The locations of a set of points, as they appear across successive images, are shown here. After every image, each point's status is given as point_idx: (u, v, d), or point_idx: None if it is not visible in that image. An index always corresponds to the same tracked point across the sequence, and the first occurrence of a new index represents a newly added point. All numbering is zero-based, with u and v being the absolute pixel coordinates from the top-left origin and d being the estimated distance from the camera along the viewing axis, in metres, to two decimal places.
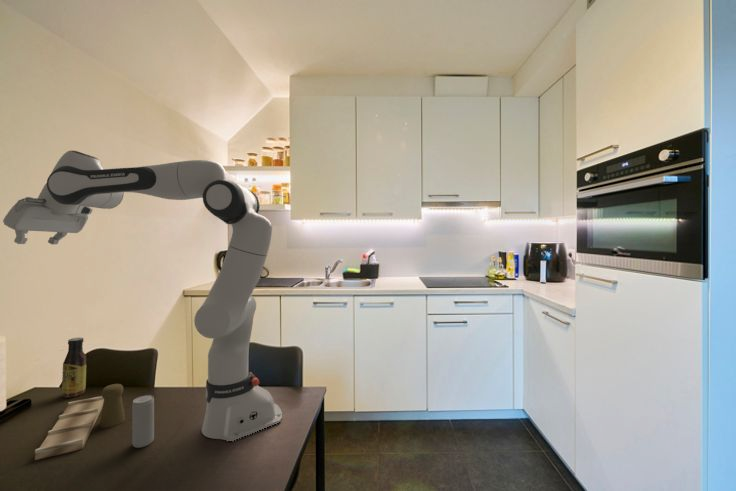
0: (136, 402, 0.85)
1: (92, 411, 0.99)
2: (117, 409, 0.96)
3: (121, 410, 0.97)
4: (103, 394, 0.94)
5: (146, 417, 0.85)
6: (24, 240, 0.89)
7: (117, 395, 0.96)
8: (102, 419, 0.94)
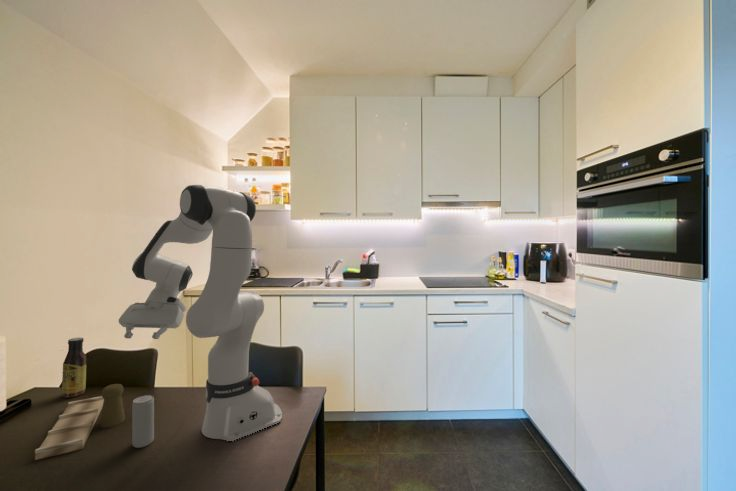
0: (136, 402, 0.85)
1: (92, 411, 0.99)
2: (117, 409, 0.96)
3: (121, 410, 0.97)
4: (103, 394, 0.94)
5: (146, 418, 0.85)
6: (127, 332, 1.09)
7: (117, 395, 0.96)
8: (102, 419, 0.94)
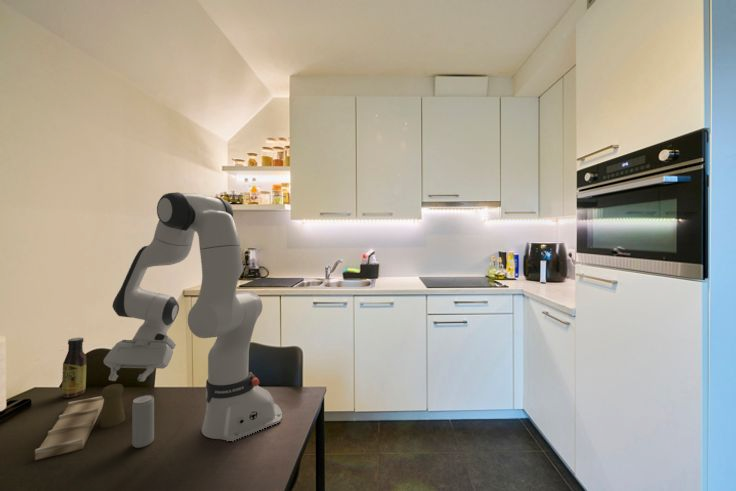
0: (136, 402, 0.85)
1: (92, 411, 0.99)
2: (117, 409, 0.96)
3: (121, 410, 0.97)
4: (103, 394, 0.94)
5: (146, 417, 0.85)
6: (112, 374, 1.02)
7: (117, 395, 0.96)
8: (102, 419, 0.94)
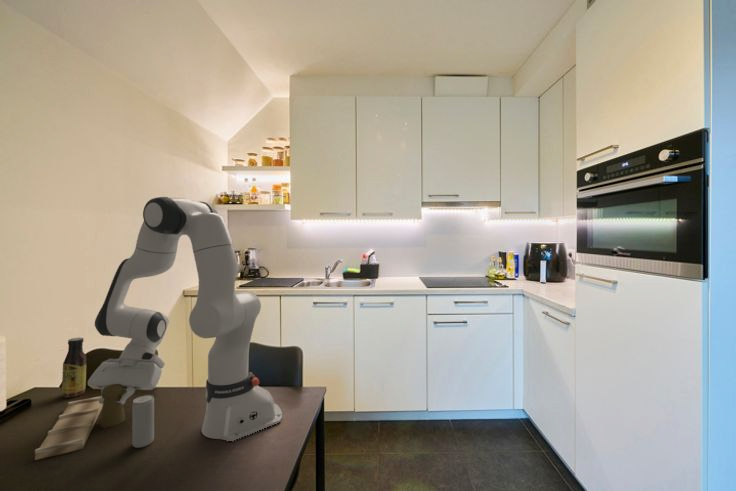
0: (136, 402, 0.85)
1: (92, 411, 0.99)
2: (117, 409, 0.96)
3: (121, 410, 0.97)
4: (103, 394, 0.94)
5: (146, 417, 0.85)
6: None
7: (117, 395, 0.96)
8: (102, 419, 0.94)
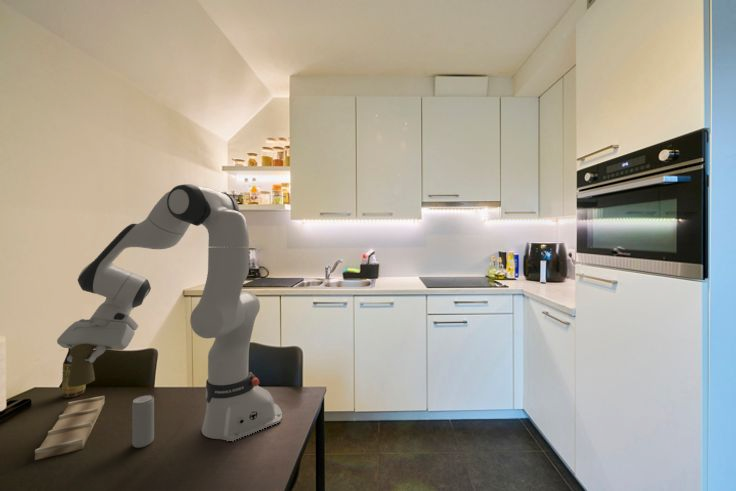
0: (136, 402, 0.85)
1: (92, 411, 0.99)
2: (85, 368, 0.94)
3: (90, 370, 0.95)
4: (71, 352, 0.92)
5: (146, 418, 0.85)
6: None
7: (86, 354, 0.94)
8: (70, 378, 0.92)
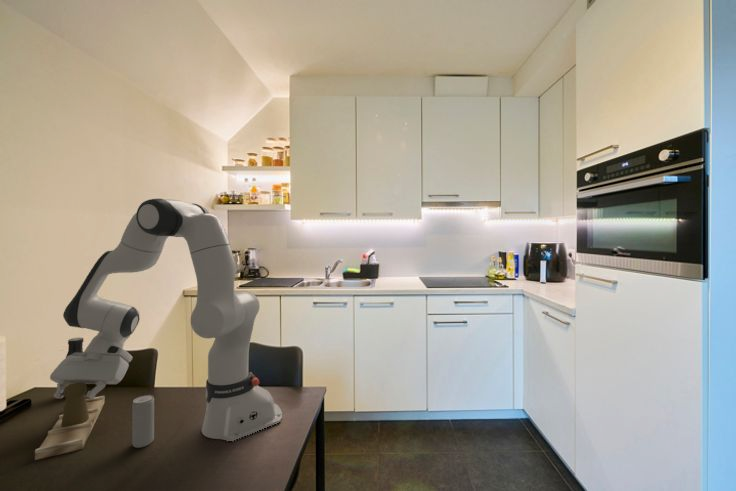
0: (136, 402, 0.85)
1: (92, 411, 0.99)
2: (79, 408, 0.93)
3: (84, 409, 0.94)
4: (64, 393, 0.92)
5: (146, 417, 0.85)
6: (58, 391, 0.94)
7: (79, 394, 0.93)
8: (63, 419, 0.92)
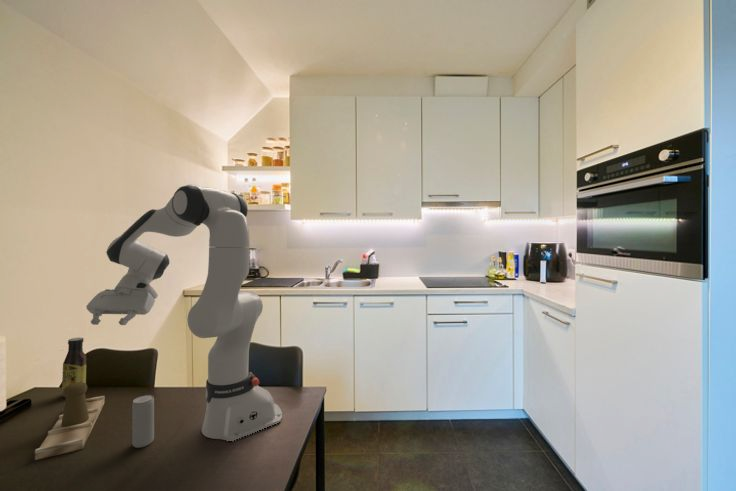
0: (136, 402, 0.85)
1: (92, 411, 0.99)
2: (79, 408, 0.93)
3: (84, 409, 0.94)
4: (65, 393, 0.92)
5: (146, 418, 0.85)
6: (94, 318, 1.06)
7: (79, 394, 0.93)
8: (63, 418, 0.92)
